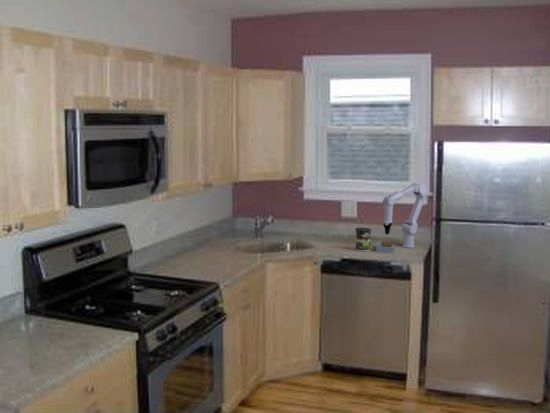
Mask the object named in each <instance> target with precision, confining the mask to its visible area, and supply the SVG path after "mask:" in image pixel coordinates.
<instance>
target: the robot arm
mask: <svg viewBox="0 0 550 413" xmlns="http://www.w3.org/2000/svg"><path fill="white" fill-rule="evenodd" d="M427 190H428V189H427V187H426V185H425V184H423V183H422V184H421V183H416V182H413V183H412V184H410V185H409V186H407V187H405V188H404V189H402V190H401V191H398V190H396V191H394V192H393V193H392V194H389V196H388V195H386V196H385V197H384V198H383V200H382V203H383V207H384V208H383V219H381V222H383V224H382V225H383V227H384V234H385V235H389V234H390V231H391V228H392V225H393V212H394V210H393V209H394V208H393V207H394V205H395V203H396V202H398V201H400V200H402V199H403V197H404V196H406V195H409V194H411V193H413V194H414V196H415V198H416V199H415V200H414V204H413V207H412V209H411V212H410V214H409V217H408V219H407V220H405V221H404V223H403V225H402V226H401V230H402V232H403V242H402V243H403V244H402V248H410V249H414V248H415V245H416V244H415V235H416V233H417V232H418V223H417V220H418V219H419V215H420V213H421V210H422V208H423V205H424V202H425V200H426V193H427Z"/></svg>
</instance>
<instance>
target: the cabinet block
mask: <svg viewBox="0 0 550 413" xmlns="http://www.w3.org/2000/svg"><path fill="white" fill-rule="evenodd" d="M381 247H392V242H391V241H383V240H382V241H381Z"/></svg>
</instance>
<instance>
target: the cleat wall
mask: <svg viewBox="0 0 550 413" xmlns="http://www.w3.org/2000/svg"><path fill="white" fill-rule="evenodd" d="M381 242H382V241H381V240H378V241H377V242H376V244H375V252H378V253H386V254H387V253H388V254H389V253H391V254H394V252H395V247H393V246H391V247H381Z"/></svg>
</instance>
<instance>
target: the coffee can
mask: <svg viewBox="0 0 550 413" xmlns="http://www.w3.org/2000/svg"><path fill="white" fill-rule="evenodd" d="M371 231H372V229H371V228H368V227H356V228H355V232H354V233H355V234H354V235H355V236H354V250H355V251H359V252H369V251H371V249H370V248H371V234H372V233H371Z"/></svg>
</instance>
